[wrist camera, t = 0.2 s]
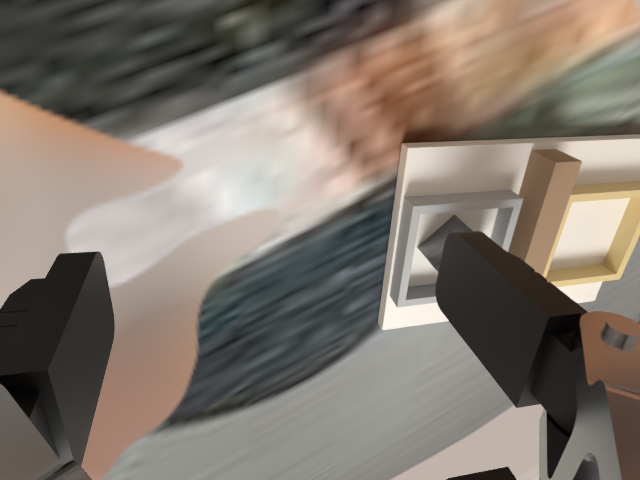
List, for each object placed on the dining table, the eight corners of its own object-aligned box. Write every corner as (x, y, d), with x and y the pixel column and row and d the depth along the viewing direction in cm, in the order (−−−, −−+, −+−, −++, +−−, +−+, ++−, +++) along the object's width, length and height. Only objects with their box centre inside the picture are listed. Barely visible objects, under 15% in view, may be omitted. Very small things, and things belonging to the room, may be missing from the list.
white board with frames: (377, 322, 37) (393, 352, 34) (401, 143, 29) (425, 161, 26) (586, 294, 41) (616, 318, 38) (652, 133, 34) (696, 148, 31)
